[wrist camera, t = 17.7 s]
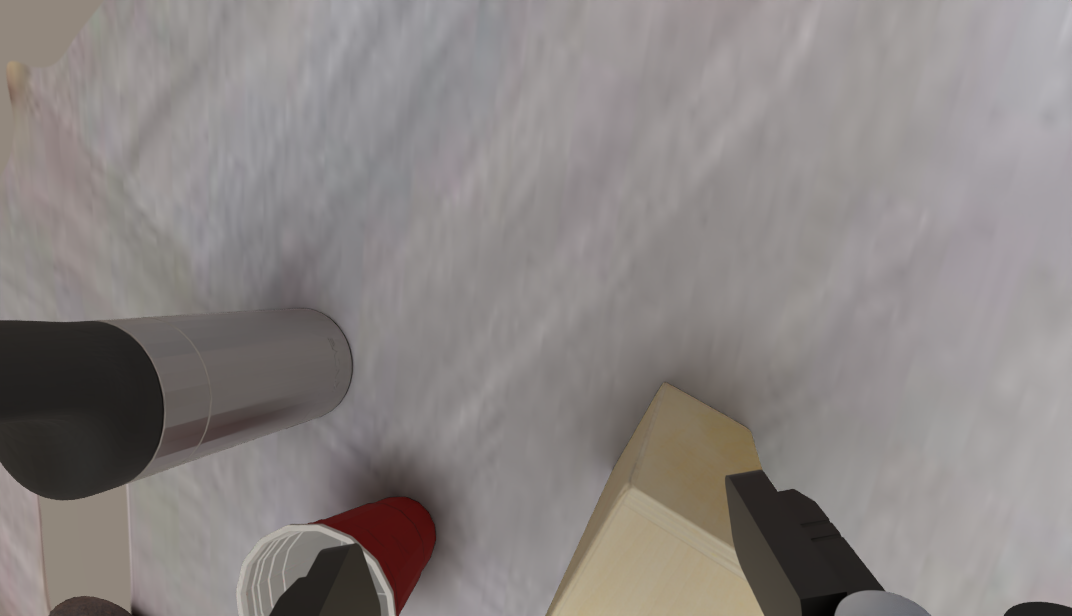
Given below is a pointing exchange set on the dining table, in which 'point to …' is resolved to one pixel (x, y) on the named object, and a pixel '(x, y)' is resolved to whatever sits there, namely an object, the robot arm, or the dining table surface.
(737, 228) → the dining table surface
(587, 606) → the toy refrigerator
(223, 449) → the robot arm
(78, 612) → the perforated stone tool
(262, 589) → the plastic cup
